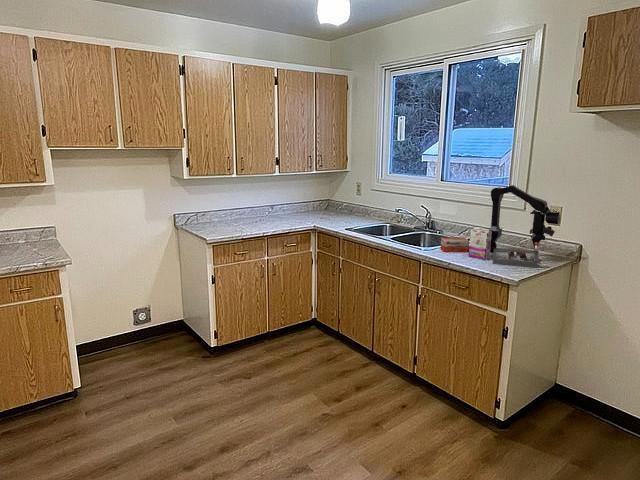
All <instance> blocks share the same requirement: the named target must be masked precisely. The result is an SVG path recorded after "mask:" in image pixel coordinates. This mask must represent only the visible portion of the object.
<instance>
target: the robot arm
mask: <svg viewBox="0 0 640 480" xmlns="http://www.w3.org/2000/svg"><path fill="white" fill-rule="evenodd" d="M509 193H511V194H513V195H514V196H515V197H518V198H519V199H521V200H523V201H525V202H526V203H527V204H529V206H530V207H532V209H533V210H532V211H531V212H529V214H530V215H533V221H532V223H531V224H532V228H531V229H530V230H529V235H530V240H531V241H532V245H533V248H534V250H535V244H534V243H535V242H539V243H540V242H541V241H545V240H546V236H545V234H546V235H548V236H549V237H553V236H554V235H555V232H556V231H555V230H554V229H553V228H552V226H550V225H549V226H546V225H545V223H547V224H551V225H560V223H561V212H559V211H551V209H550V208H549V206H548V202H547V200H545V199H541V198H539V197H535V196H532V195H531V194H529V193H527V192H525V191H524V190H522V189H520V188H519V187H517V186H516V185H513V184H511V185H509V186H505V187H500V186H499V187H494V188H492V189H491V191H490V198H491V202H492V208H491V210H492V211H491V222H490V227H489V229H488V231H491V232H492V236H491V247H490V254H492V253H494V248H498V247H497V245H498V244H497V242H498V239H500V238H501V236H503V234H502V233H503V228H502V227H501V228H500V218H501V217H500V215H501V202H502V200H503V198H504V195H505V194H509ZM531 234H532V235H531Z"/></svg>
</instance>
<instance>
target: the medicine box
mask: <svg viewBox="0 0 640 480" xmlns="http://www.w3.org/2000/svg"><path fill="white" fill-rule="evenodd" d="M469 242H470V239H467V238H466V237H462V236H461V237H457V236H456V237H448V236H447V237H441V238H440V250H441V251H442V252H444V253H469Z"/></svg>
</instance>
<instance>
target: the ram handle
mask: <svg viewBox="0 0 640 480" xmlns="http://www.w3.org/2000/svg"><path fill="white" fill-rule="evenodd" d="M534 244H535V249H534V250H533V251H539V247H540V242H535V243H534ZM531 256H532V259H535V254H532V255H531ZM539 257H540V256H539V255H538V259H539ZM539 260H540V259H539Z"/></svg>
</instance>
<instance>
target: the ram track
mask: <svg viewBox="0 0 640 480" xmlns="http://www.w3.org/2000/svg"><path fill="white" fill-rule="evenodd" d="M529 257H530V260H531V261H532V262H533V261H534V260H535V259H532V255H530V256H529ZM537 264H541V261H540V259H538V262H537Z"/></svg>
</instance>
